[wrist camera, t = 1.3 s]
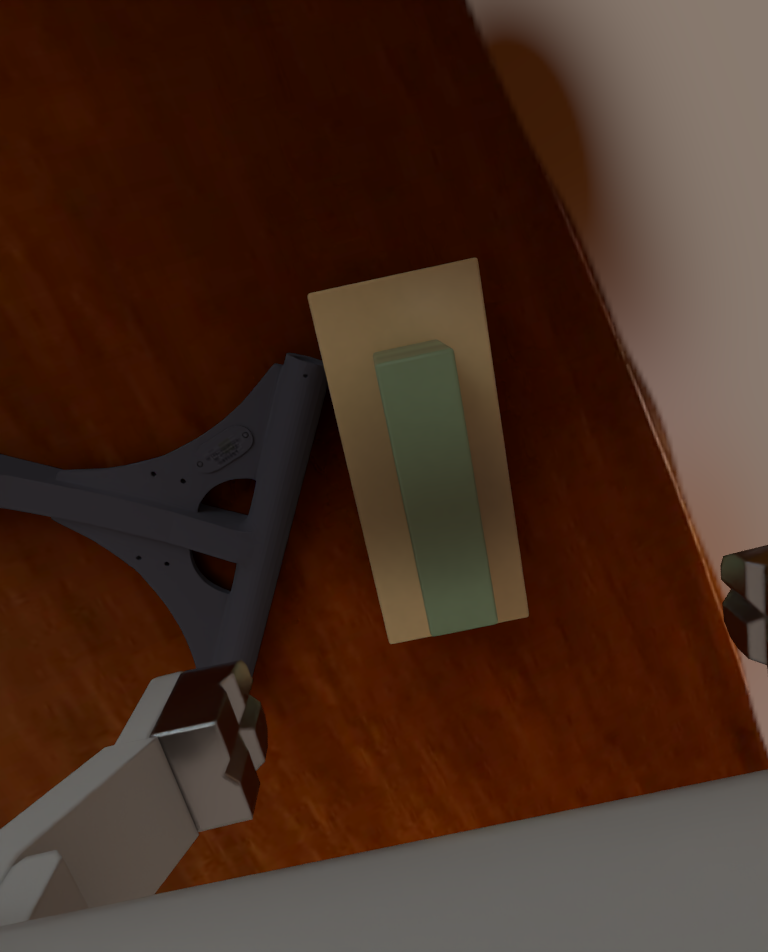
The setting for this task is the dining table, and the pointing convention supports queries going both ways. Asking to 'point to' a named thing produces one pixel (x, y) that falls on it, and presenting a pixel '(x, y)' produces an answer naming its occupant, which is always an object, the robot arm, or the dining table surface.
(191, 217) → the dining table surface
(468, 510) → the brush
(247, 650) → the bracket
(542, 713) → the dining table surface
